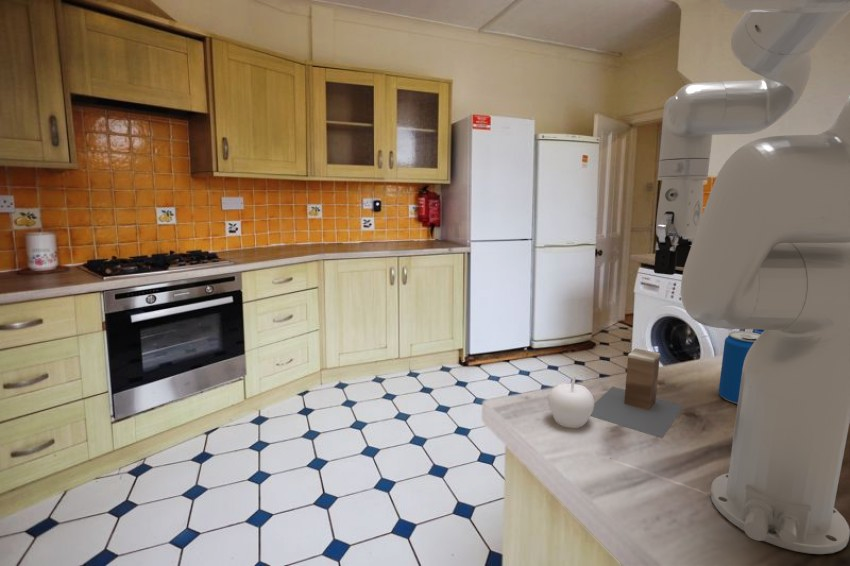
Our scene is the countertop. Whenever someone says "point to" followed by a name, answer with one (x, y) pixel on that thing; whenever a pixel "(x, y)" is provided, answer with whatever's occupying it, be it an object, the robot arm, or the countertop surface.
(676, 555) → the countertop surface
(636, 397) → the block
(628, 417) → the mat
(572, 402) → the plain white apple
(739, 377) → the beverage can
